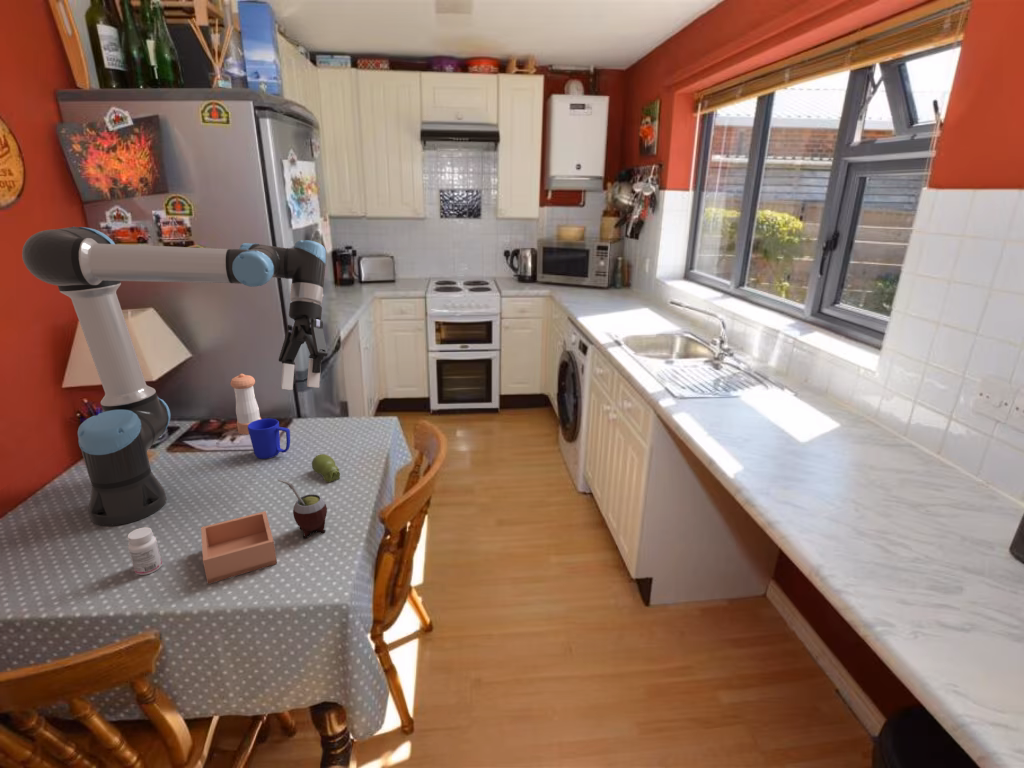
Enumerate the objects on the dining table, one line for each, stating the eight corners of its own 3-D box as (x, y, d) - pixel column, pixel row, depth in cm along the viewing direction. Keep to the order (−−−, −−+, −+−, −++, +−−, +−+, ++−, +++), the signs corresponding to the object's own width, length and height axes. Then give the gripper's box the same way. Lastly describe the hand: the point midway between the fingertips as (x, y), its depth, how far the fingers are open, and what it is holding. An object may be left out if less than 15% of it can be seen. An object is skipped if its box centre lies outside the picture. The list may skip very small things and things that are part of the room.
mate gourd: (334, 524, 123) (328, 466, 118) (315, 544, 116) (307, 484, 111) (306, 519, 125) (298, 462, 120) (285, 539, 117) (276, 479, 112)
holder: (207, 584, 103) (202, 560, 102) (205, 549, 114) (201, 527, 112) (277, 563, 110) (273, 541, 108) (269, 532, 120) (265, 511, 118)
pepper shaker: (233, 433, 169) (223, 376, 162) (247, 424, 176) (238, 369, 169) (253, 435, 168) (244, 378, 161) (267, 426, 174) (259, 371, 168)
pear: (326, 448, 148) (345, 465, 142) (327, 464, 150) (345, 481, 144) (307, 454, 144) (326, 472, 138) (308, 470, 146) (326, 489, 140)
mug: (284, 464, 150) (279, 432, 147) (246, 459, 152) (241, 428, 149) (300, 451, 158) (296, 420, 154) (264, 447, 160) (259, 417, 157)
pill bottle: (143, 560, 110) (134, 526, 107) (167, 559, 110) (158, 525, 107) (129, 576, 105) (119, 540, 102) (154, 575, 106) (145, 539, 103)
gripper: (346, 299, 126) (340, 387, 124) (297, 313, 143) (290, 391, 140) (316, 291, 120) (309, 384, 118) (269, 307, 137) (262, 389, 135)
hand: (299, 388), depth 129 cm, fingers open, 13 cm apart
